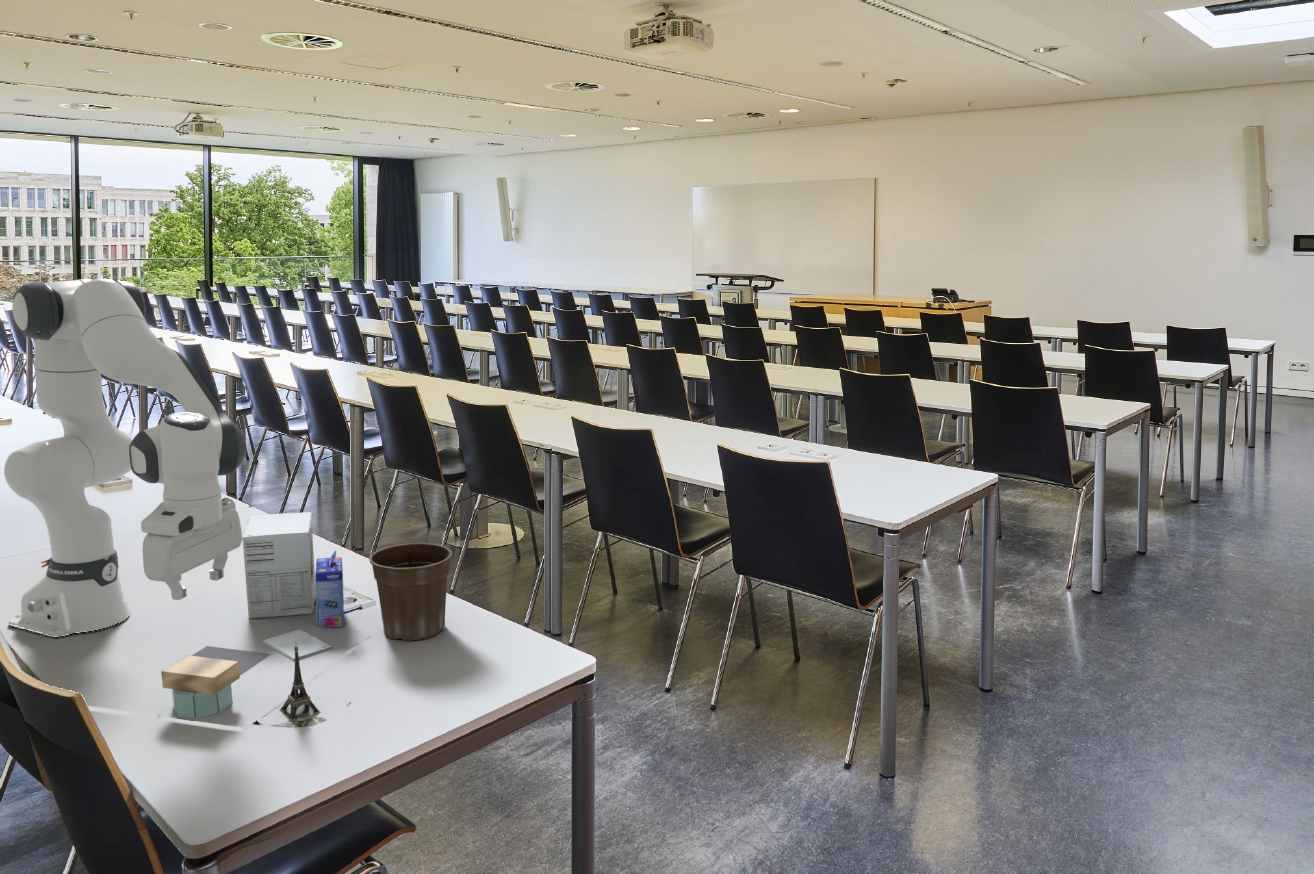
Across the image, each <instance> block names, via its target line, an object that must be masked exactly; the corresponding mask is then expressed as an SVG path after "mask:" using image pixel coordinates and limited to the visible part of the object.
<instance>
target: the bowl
mask: <svg viewBox="0 0 1314 874" xmlns="http://www.w3.org/2000/svg"><path fill="white" fill-rule="evenodd" d="M171 695H172V707H173V709H174V710H173V711H174V714H175V716H178V717H176V719H177V720H183V721H184V720H185V721H190V722H191V721H192V722H195V721H196V722H198V720H197V719H198V718H203V717H206V716H211V715H214V714H218V713H221V712H222V711H224V710H225V709H226V708H227V707H230V706H231V705H232V704H233V692H232V684H230V685H229V686H227V687H226V688H224V689H223V690H221V691H220V692H218V693H217V694H216V695H214V694H206V693H199V692H191V691H184V690H176V689H171ZM182 717H183V718H182ZM184 717H185V718H184ZM188 718H193V719H188ZM195 718H196V720H195Z"/></svg>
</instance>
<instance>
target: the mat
mask: <svg viewBox="0 0 1314 874" xmlns="http://www.w3.org/2000/svg"><path fill="white" fill-rule="evenodd" d="M271 655H272V653H268V652H258V651H251V650H245V649H243V650H242V649H241V650H240V649H234V648H227V647H218V646H211V645H210V646H209V645H206V646H205V647H203V648H201V649H199V650H198V651H197V652H195V653H194V654H191V655H190V656H198V657H206V658H214V659H222V660H230V661H238V662H239V674H240V676H242V675H243V674H244V673H246V672H248V671H249V670H250V669H252V668H254V666H256V665H257V664H259V663H260V662H262V661H264V660H265V659H267V658H268V657H269V656H271Z"/></svg>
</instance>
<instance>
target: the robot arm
mask: <svg viewBox="0 0 1314 874" xmlns="http://www.w3.org/2000/svg"><path fill="white" fill-rule="evenodd" d="M11 308H12V315H13V317H12V318H13V319H14V321H15V324H16V327H17V329H18V331H20V332H21V333H22V334H23V335H24V336H25V337H27V338H28V339H29V338H30V339H34V356H33V357H34V358H33V359H34V374H35V391H36V392H35V393H36V403H37V405H38V407H39V409H41V411H42V412H43V413H45V414H46V415H47V416H50V417H52V418H55V419H57V420H59V421H60V423H61V425H62V428H63V429H62V430H63V436H61V437H56V438H51V439H46V440H41V441H35V442H33V443H30V444H28V445H26V446H24V447H21V448H19V449H18V450H15V451H13V452H11V453H10V454H9V455H8V457H7V459H6V461H5V464H4V468H3V471H4V472H3V474H4V478H5V481H6V484H7V485H8V487H9V489H10V490H11V491H12V492H13V493H15V494H16V495H17V496H19V497H20V498H23V499H24V500H27V501H29V502H30V503H31V504H33V505H34V507H36V508H37V510H38V511H39V513H40V514H41V515H42V518H43V519H44V522H45V524H46V528H47V535H48V538H49V545H50V551H51V557H50V558H49V559H46V560H44V561H41V562H40V564H43V565H41V568H45V567H47V569H46V573H45V576H44V577H42V578H41V579H40V580H38V581H37V582H36V583H35V584H34V585H33V586H31V587H30V588H29V589H27V590H26V591H25V592H24V594H23V595H22V598H21V602H20V611H21V612H18V613H16V614H15V615H13V617H11V618H10V619H9V620H8V625H9V624H12V625H17V626H19V627H24V628H25V629H31V630H34V631H39V632H42V633H43V634H48V635H51V636H62V635H66V634H72V633H76V632H81V631H82V632H84V631H92V632H95V631H94V630H96V629H101V630H103V629H102V628H105V627H108V628H110V627H109V626H111V627H113V626H112V625H114V626H116V625H115V624H117V623H119V624H120V622H121V623H123V622H124V621H126V620H127V619H128V618H129V617H130V615H131V614H130V613H129V612H130V610H129V609H128V604H127V600H126V599H125V596H124V593H123V588H122V585H121V580H120V577H119V576H120V575H119V572H118V571H119V557H118V553H117V550H116V549H115V545H114V535H113V526H112V519H111V515H109V514H108V512H106V511H105V509H102V508H101V507H98V506H96V505H93V504H92V505H91V504H89V502H88V500H87V497H86V493H85V489H86V488H90V487H94V486H98V485H102V484H106V483H109V482H112V481H115V480H116V479H119V478H120V477H123V476H124V475H126V474H128V473H130V472H131V471H132V474H133V475H135V476H136V477H137V478H139V479H140V480H142V481H144V482H145V483H148V484H162V486H163V491H162V502H160V503H159V504H158V505H157V507H155V508H154V510H153V511H152V512H151V513H149V514H148V515H147V516H146V517H145V518H143V519H142V520H141V522H140V529H141V532H142V533H144V534H146V535H145V536H144V538H143V541H142V562H143V564H142V565H143V572H144V575H145V576H146V578H147V579H148V580H150V581H153V582H154V581H155V582H161V583H165V584H166V585H167V587H168V588H169V590H170V593H171V598H172V600H176V601H180V600H182V599H184V598H186V597H187V595H188V594H187V587H185V586H182V584H181V583H180V581H182V575H183V574H186V573H188V572H190V571H192V570H194V569H196V568H197V567H200V566H202V565H204V564H206V563H209V562H211V561H213V562H212V563H213V564H212V568H210V569H209V571H208V573H209V579H210V580H211V581H215V582H217V581H220V580H222V579H223V578H224V577H225V572H224V570H225V567H226V564H227V561H228V559H229V556H228V553H229V552H232V551H234V550H235V549H239V548H240V547H241V544H242V543H243V532H242V526H241V521H240V516H239V513H238V511H237V509H236V507H237V506H236V502H235V501H234V500H233V499H232V498H229V497H224V498H223V497H222V488H221V485H220V484H219V478H218V476H219V477H220V476H230V475H232V474H234V472H235V471H237V469H238V468H239V467H240V466H241V465H242V463H243V461H244V460H245V458H246V455H247V443H246V439H245V436H244V433H243V432H242V431H241V429H240V428H239V426H238V425H237V424H236V423H235V422H234V421H232V419H231V418H230V417H229V416H228V415H227V414H226V413H225V412H224V410H223V409H222V407H221V406H220V405H219V403H218V402H217V400H216V399H215V398H214V396H213V395H212V393H211V392H210V390H209V389H208V387H207V386H206V385H205V383H204V381H202V379H201V377H200V376H199V374H198V373H197V372H196V370H195V369H194V368H193V366H192V364H190V363H189V361H188V359H187V358H186V357H185V356H184V355H183V354H182V353H181V352H179V351H177V350H174V349H173V348H171V347H169V346H168V345H166V344H165V343H164V342H163V341H162V340H160V339H159V338H158V337H157V336H156V335H155V334H154V332H153V331H152V330H151V329H150V327H149V325H148V323H147V321H146V318H147V304H146V300H145V296H144V294H143V293H142V291H141V290H140V288H139V287H138V286H137V285H136V284H134V283H131V282H127V281H124V280H123V281H122V280H118V279H117V280H116V279H115V280H113V279H109V278H96V279H95V278H94V279H88V278H87V279H84V278H82V279H81V278H79V279H76V280H75V279H74V280H58V281H50V282H43V281H34V282H29V283H25V284H23V285H21V286H19V288H18V289H17V290H16V291H15V293H14V295H13V299H12V307H11ZM101 375H103V376H105V377H106V378H109V379H111V380H114V381H117V382H120V383H125V384H133V385H140V386H144V387H148V388H153V389H157V390H160V391H163V392H165V393H168V394H169V395H172V396H173V397H174V398H175V399H176V400H177V401H178V402H179V404H180V405H181V408H182V409H183V410H184V411H182V412H174V413H170V414H168V415H166V416H164V417H163V418H162V419H161V420H160V423H159V424H158V425H156V426H152V427H148V428H145V429H143V430H140V431H138V432H137V433H136V435H134V437H133V439H132V438H131V437H130V436H129V435H128V434H127V433H125V431H123V430H120V429H119V427H117V426H116V425H115V424H114V423H113V421H112V420H111V419H110V416H109V415H108V413H107V409H106V407H105V403H104V396H103V387H102V386H103V385H102V376H101ZM129 614H130V615H129ZM128 616H129V617H128ZM126 618H127V619H126ZM122 621H123V622H122ZM117 625H118V624H117ZM105 629H106V628H105ZM72 635H73V634H72Z"/></svg>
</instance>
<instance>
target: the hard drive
mask: <svg viewBox="0 0 1314 874" xmlns="http://www.w3.org/2000/svg"><path fill="white" fill-rule="evenodd" d="M295 641H296V642H295ZM262 643H263V644H265V645H267V646H268V647H270V648H271V649H273V650H275V651H277V653H279V654H281V655H283V656H285V657H286V658H288V659H289V660H291V661H292V662H295V651H294V647H295V646H297V647H298V649H299V650H298V657H299V660H302V659H304V658H305V659H306V658H308V657H311V656H314V655H316V654H320V653H323V652H326V651H329V650H333V649H334V646H331V645H330V644H328V643H326V642H324V641H322V640H321V639H320V638H318V637H315V636H314V635H312V634H310V633H308V632H307V631H305V630H302V629H297V630H294V631H289V632H286V633H282V634H280V635H276V636H273V637H269V638H267V639H264V640H262Z"/></svg>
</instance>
